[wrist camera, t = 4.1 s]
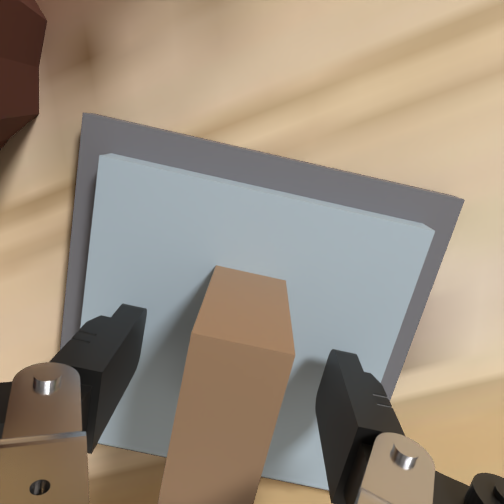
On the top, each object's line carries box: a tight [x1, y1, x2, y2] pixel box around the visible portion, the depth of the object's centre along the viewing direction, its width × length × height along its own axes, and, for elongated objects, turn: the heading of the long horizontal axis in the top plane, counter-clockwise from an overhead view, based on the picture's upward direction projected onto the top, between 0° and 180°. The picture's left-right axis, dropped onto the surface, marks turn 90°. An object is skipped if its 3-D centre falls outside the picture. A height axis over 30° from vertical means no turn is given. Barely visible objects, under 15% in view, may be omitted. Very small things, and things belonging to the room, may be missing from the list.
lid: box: [80, 153, 435, 504], centre depth 12 cm, size 10×10×5 cm
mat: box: [60, 113, 464, 491], centre depth 15 cm, size 12×12×1 cm
